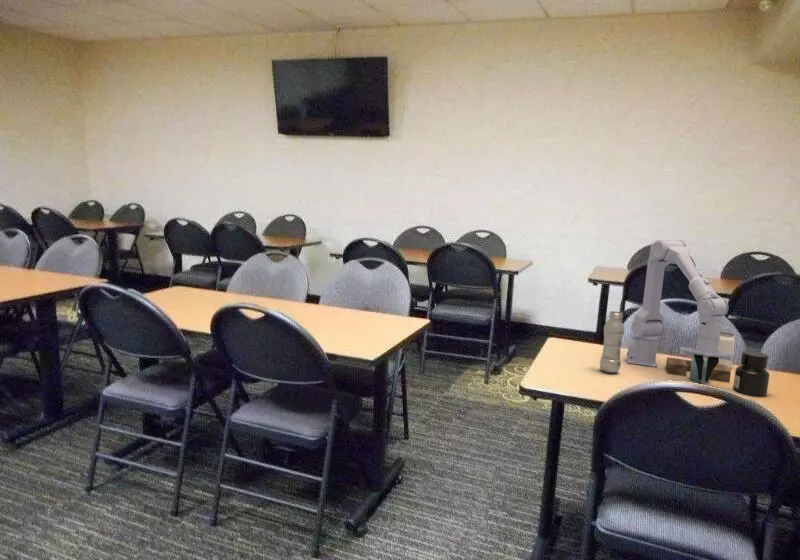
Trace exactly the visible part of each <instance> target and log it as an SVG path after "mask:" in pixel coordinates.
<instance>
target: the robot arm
mask: <svg viewBox="0 0 800 560" xmlns="http://www.w3.org/2000/svg"><path fill="white" fill-rule="evenodd" d="M671 263H673V264H676V265H677V267H678V268H679V269H680V271H681V273H682V274H683V275H684V276H685V277H686V279H687V280H688V282H689V284H688V289H689V291H690V292H691V294H692V295H693V297H694V299H695V300H696V302H697V304H698V305H697V306H696V307H697V312H698V319H699V321H700V322H699V327H698V328H699V329H698V335H697V336H698V337H697V343H696V347H687V346H686V347H684V346H680V348H679V354H680V355H688V356H689V355H690V356H692V357H694V359H695V362H696V365H697V370H698V379H699V380H701V379H702V369H703V364H704V360H703V359H704V358H703V357H705V358H707V372H706V379H705V381H708V380H709V381H710V379H709V377H710V375H711V373H712V371H713V370H714V368H715V367H716V366H717V364H718V363H719V359H725V360H729V361H732V362H734V361H735V353H734V352H733V353H727V352H721V351H718V346H719V339H720V332H722V325H723V318H724V317H725V316H726V315H727V314H728V311H729V303H728V301H727V300H726V298H724V297H721V296H720V295H718V293H717V292H716V291H715V289H714V288H713V286H712V285H711V281H710V280H709V279H707V277H704V276H701V275H700V273H699V271H698V269H697V267H696V266H695V263H694V262H693V260H692V258H691V256H690V248H689V246H688V244H687V243H686V241H684V240H681V239H679V240H666V239H657V240H655V241H653V243H652V244H650V248H649V257H648V258H647V267H646V275H645V284H644V291H643V300H642V309H641V310H640V311H638V312H637V313H636V314H634V318H633V321H632V324H631V333H632V335H633V336H631V335H630V336H629V338H628V347H627V351H626V363H627V364H632V365H640V366H646V367H647V366H648V367H652V368H653V367H655V368H657V367H658V364H657V361H656V358H657V350H658V343H659V340H661V336H664V334H665V330H666V328H665V327H666V326H665V316H664V315H663V313H661V312H660V311H661V309H660V308H661V301H662V293H663V292H662V291H663V286H664V277H665V269H666V267H667V266H668V265H670V264H671Z"/></svg>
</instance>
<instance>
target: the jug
mask: <svg viewBox="0 0 800 560" xmlns="http://www.w3.org/2000/svg"><path fill="white" fill-rule="evenodd" d="M703 358H704V359H703V360H704V364H703V369H702V379H701V380H699V379H698V370H697V365H696V362H695V359H694V356H691V369H690V371H689V376H688V377H689V380H690V381H693V382H695V383H700V384H708V383H709V381H710V379H709V380H708V381H705V379H706V372H707V358H708V357H703Z"/></svg>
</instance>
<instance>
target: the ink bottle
mask: <svg viewBox="0 0 800 560" xmlns="http://www.w3.org/2000/svg"><path fill="white" fill-rule="evenodd" d="M768 363H769V355H768V354H767V353H763V352H759V351H752V350H743V351H742V352H741V358H740V365H739V366H737V367H736V368H735V372H734V378H733V386H732V388H733V390H734V391H736V392H738V393H741V394H745V395H748V396H752V397H764V396H766V395H768V394H767V393H768V390H769V382H770V372H769V371H768V370H767V369H766V368H767V366H768Z"/></svg>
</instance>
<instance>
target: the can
mask: <svg viewBox="0 0 800 560" xmlns="http://www.w3.org/2000/svg"><path fill="white" fill-rule="evenodd" d="M735 342H736V339H735V334H734V333H731V332H727V331H721V332H720V339H719V346H718V351H721V352H727V353H733V354H734V350H735ZM718 364H720V365H727V367H728V368H729V370H731V368H732V364H733V361H729V360H725V359H719V363H718Z"/></svg>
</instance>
